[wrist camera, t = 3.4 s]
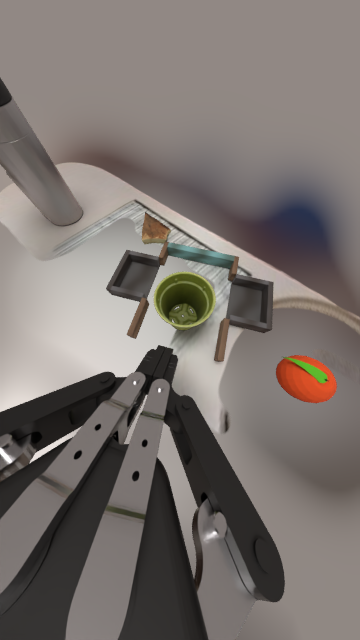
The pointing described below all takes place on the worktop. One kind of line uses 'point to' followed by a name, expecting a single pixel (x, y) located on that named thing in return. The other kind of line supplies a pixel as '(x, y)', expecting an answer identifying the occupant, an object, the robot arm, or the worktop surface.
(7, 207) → the worktop surface
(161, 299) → the plant pot
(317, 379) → the clementine
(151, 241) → the shard
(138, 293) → the two-trap channel
